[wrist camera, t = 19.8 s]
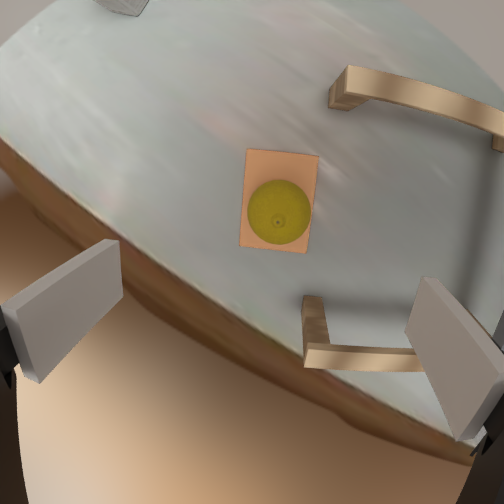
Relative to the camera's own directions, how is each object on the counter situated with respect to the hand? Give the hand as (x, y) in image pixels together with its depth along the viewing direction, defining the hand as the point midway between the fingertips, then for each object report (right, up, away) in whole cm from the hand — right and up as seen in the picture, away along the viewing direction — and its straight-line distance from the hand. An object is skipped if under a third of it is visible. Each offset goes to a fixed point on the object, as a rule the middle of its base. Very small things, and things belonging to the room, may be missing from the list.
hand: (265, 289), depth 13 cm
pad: (+2, +7, +19) cm, 20 cm away
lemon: (+2, +6, +19) cm, 20 cm away
